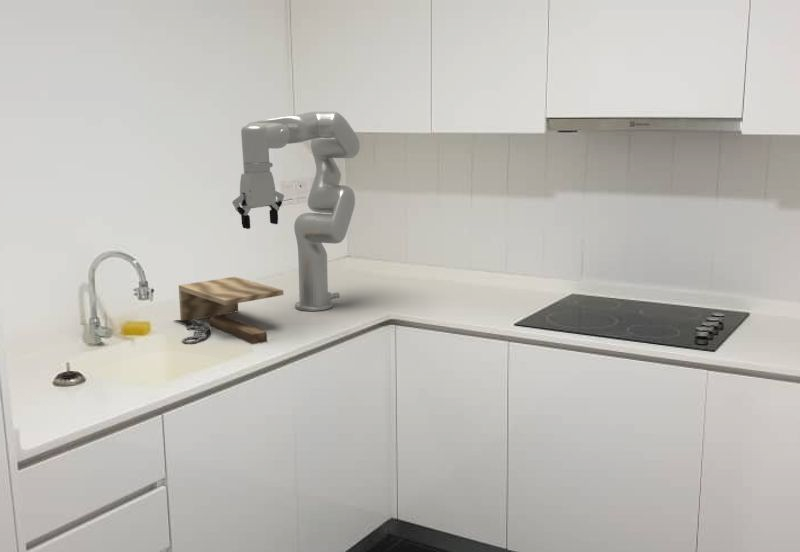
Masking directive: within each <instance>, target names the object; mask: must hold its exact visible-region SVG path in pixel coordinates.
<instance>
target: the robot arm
mask: <svg viewBox="0 0 800 552" xmlns="http://www.w3.org/2000/svg"><path fill="white" fill-rule="evenodd" d="M240 132H241V133H240V135H241V149H242V162H243V173H241V175H240V181H239V182H240V183H239V195H238V196H237V197H236V198H234V200H232V201H231V202H232V205H233V207H234V208H235V209H234V210H235V211H236V212H237V213H238V214H239V215H240V217H241V218H240V219H241V225H242V228H243V229H247V230H249V229H251V219H250V217H251V216H250V214H249V213H250V211H251V210H252V209H257V208H264V207H269V208H270V209H269V222H270V224H272V225H278V224H279V214H278V213H279V210H280V207H282V205H283V201H284V198H285V195H284V194H283V193H281V192H279V191H277V190H276V186H275V179H274V176H273V172H271V168H272V167H273V166H274V165H273V163H272V162H270V154H269V153H270V152H269V151H270V150H269V149H278V150H279V149H282V148H284V147H286V146H287V145H288V144H290V145H291V144H300V143H303V142H307V141H310V140H311V141H310V149H311V153H312V156H313V159H314V163H315V168H316V170H315V176H314V179H313V181H312V185H311V188H310V190H309V194H308V197H307V206H308V209H310V211H312V212H304V213H301V214H300V215H298V216H297V218H296V219H295V221H294V224H293V227H294V234H295V235H294V236H295V237H296V238H295V240H296V243H297V255H298V257H297V259H298V290H299V294H298V295H299V301H297V302H295V303H294V308H295V309H296V310H299V311H303V312H305V311H306V312H309V311H310V312H316V311H325V310H330V309H331V308H333V307H334V306H333V299H335V300H336V299H339V298H340V293H339V291H337V292H329V290H328V289H329V284H328V283H329V282H328V280H329V279H328V254H327V250H326V249H325V246H324V245H323V244H340V243H342V242H343V241H344V239H345V238H346V237H347V233H348V229H349V225H350V223H351V221H352V216H353V213H354V211H355V205H356V197H355V192H354V191H353V189H352V188H351V187H350V186H347V185H344V184H343V185H342V184H340V182H341V179H342V174H341V171H340V167H338V165H337V163H336V162H335V160H334V159H351V158H352V159H353V158H354V157H356V156H357V155H359V152H360V146H361V145H360V140H359V137H358V135H357V133H356V132H355V130H354V129H353V128H352V127H351V124H350V123H349V122H348V120H347V119H346V118H345V117H344V116H343V115H342V114H340V113H339V112H337V111H310V112H305V113H300V114H296V115H290V116H289V115H288V116H282V117H277V118H270V119H263V120H262V119H261V120H256V121H251V122H249V123H247V124H246V125H245V126H242V128H241V131H240Z"/></svg>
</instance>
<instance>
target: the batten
mask: <svg viewBox="0 0 800 552" xmlns="http://www.w3.org/2000/svg"><path fill="white" fill-rule="evenodd" d="M209 322H210V323H209V327H210V328H213V329H216V330H218V331H220V330H221V331H220V332H223V333H225V334H227V333H228V335H230V336H233V337H235V338H237V339H240V340H242V341H244V342H247V343H249V344H252V345H256V344H261V343H266V342H268V333H267V332H268V331H265V330H263V329H260V328H257V327H254V326H253V325H250V324H248V323H245V322H243V321H240V320H237V319H235V318H231V317H230V316H227V315H226V314H222V315H217V316H212V317H209Z"/></svg>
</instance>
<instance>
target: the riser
mask: <svg viewBox="0 0 800 552" xmlns="http://www.w3.org/2000/svg"><path fill="white" fill-rule="evenodd" d="M178 296H179V297H178V299H179V315H180V317H179V318H180V320H193V321H196V320H200V319H205V318H210V317H211V316H212V317H215V316H216V315H217V316H220V315H221V314H222V315H226V314H225V313H228V314H231V313H230V312H233V313H236V312H235V311H238V312H239V304H241V303H247V302H251V301H252V302H253V301H258V300H263V299H269V298H274V297H275V298H276V297H281V296H284V289H280V288H276V287H273V286H269V285H266V284H262V283H259V282H255V281H251V280H249V279H248V280H247V279H244V278H241V277H237V276H231V277H224V278H218V279H212V280H211V279H210V280H205V281H198V282H197V281H196V282H192V283H191V282H190V283H186V284H179V285H178Z"/></svg>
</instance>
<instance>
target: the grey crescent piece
mask: <svg viewBox="0 0 800 552" xmlns="http://www.w3.org/2000/svg"><path fill="white" fill-rule="evenodd" d="M173 321H174V322H177V323H180V324H183V325H184V326H185V327H186V330H191V331H193V335H192V336H188V337H184V338H183V339H182V340H181V341H182V343H183V344H187V345H196V344H199V343H201V342H205V341H207V340H208V338H209V337H210V335H211V332H212V330H211V326H209V325H208V326H207V325H205V323H204V322H198V321H197V320H181V319H178V320H177V319H176V320H173Z"/></svg>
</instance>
